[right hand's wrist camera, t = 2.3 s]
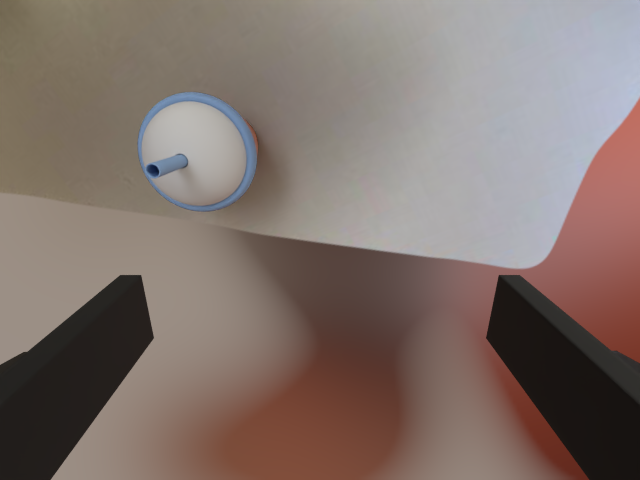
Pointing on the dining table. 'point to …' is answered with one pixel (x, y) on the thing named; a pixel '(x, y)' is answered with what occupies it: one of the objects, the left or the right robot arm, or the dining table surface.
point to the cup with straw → (197, 151)
